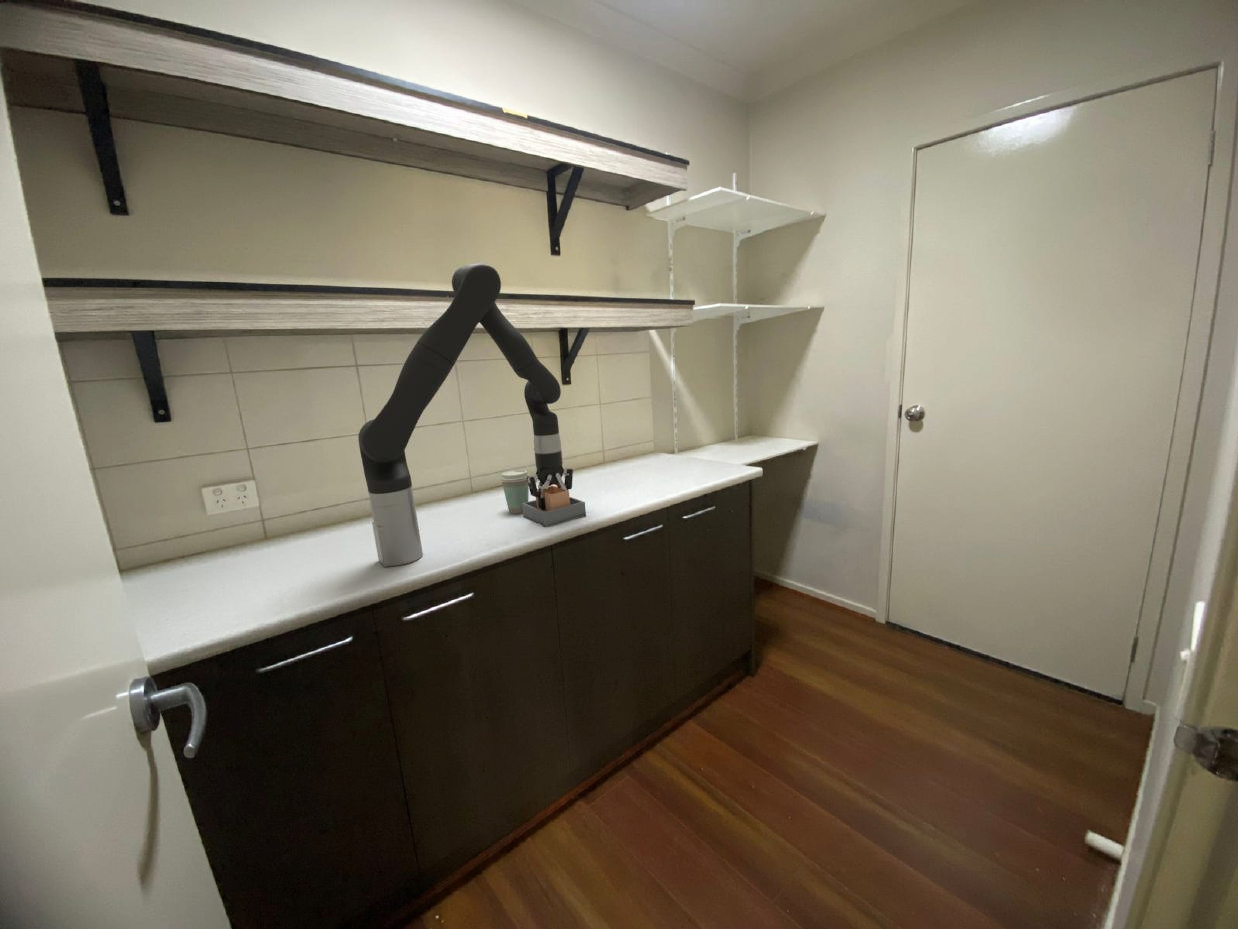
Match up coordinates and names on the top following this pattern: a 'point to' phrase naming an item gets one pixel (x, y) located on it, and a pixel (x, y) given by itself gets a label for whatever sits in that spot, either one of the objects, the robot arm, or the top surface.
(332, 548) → the top surface
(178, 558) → the top surface
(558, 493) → the small crate
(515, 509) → the coffee cup
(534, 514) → the big crate
